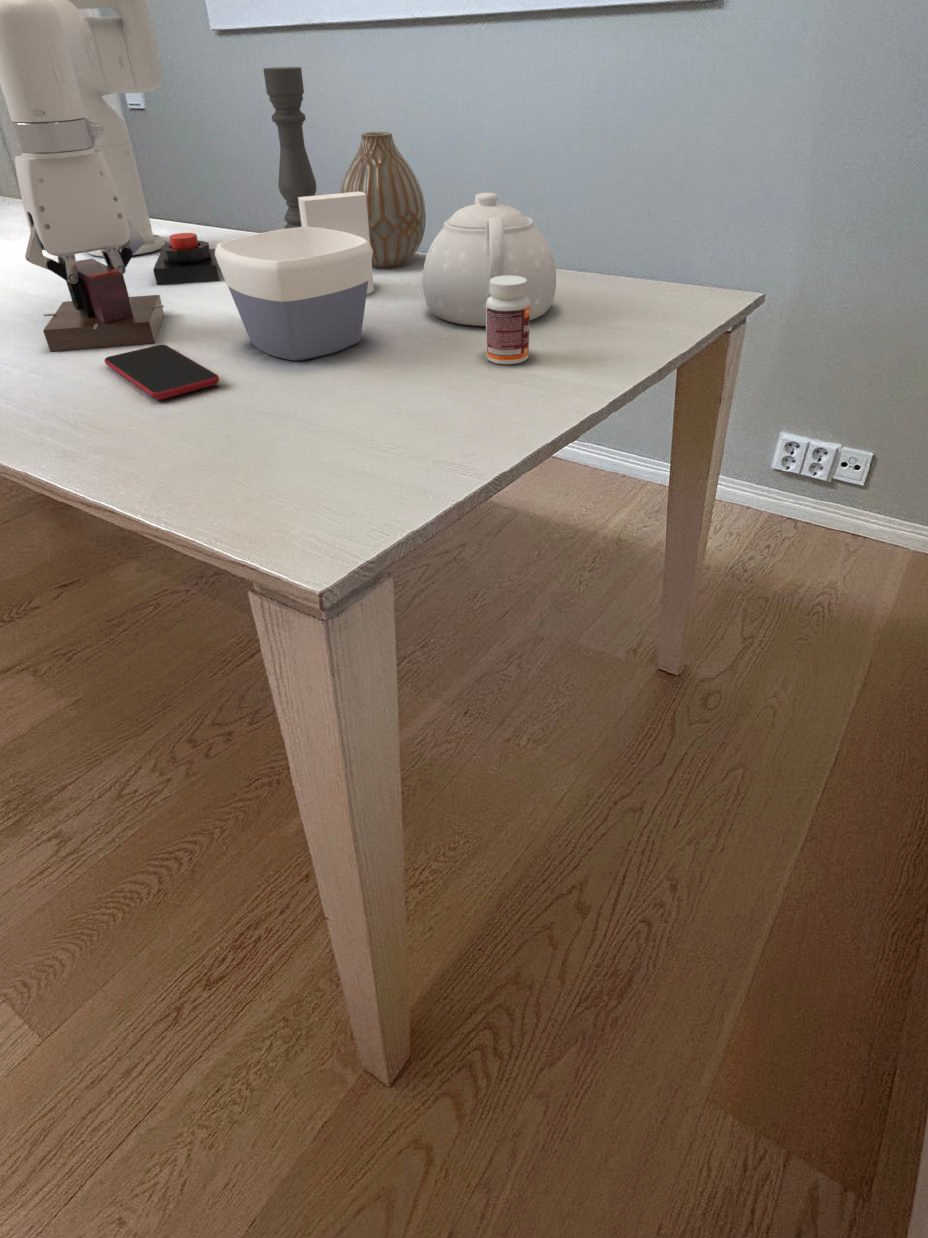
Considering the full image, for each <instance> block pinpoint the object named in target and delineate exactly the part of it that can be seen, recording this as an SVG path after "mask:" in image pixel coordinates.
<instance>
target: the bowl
mask: <svg viewBox="0 0 928 1238" xmlns="http://www.w3.org/2000/svg"><path fill="white" fill-rule="evenodd" d="M215 248H216V249H215V254H214V255H215V257H216V259H217V262H218V264H219V267H220V269H221V274H222V277H223V279H224V281H225V283H226V285H227V287H228V290H229V292H230V294H231V297H232V299H233V301H234V302H233V303H234V305H235V307H236V309H237V311H238V315H239V316H240V318H241V321H242V323H243V326H244V328H245V331H246V334H247V336H248V338H249V341H250V343H251V344H252V345H253V346H254V347H255V348H257V349H258V350H260V351H261V352H263V353H265V354H267V355H269V356H273V357H276V358H279V359H284V360H286V361H287V360H288V361H295V362H298V361H299V362H301V361H306V360H311V359H315V358H321V357H323V356H327V355H331V354H332V355H333V354H335V353H337V352H341V351H343V350H345V349H348V348H351V347H352V346H354V345H356V344H357V343H359V342H360V341H361V338H362V333H363V324H364V316H365V311H366V310H365V309H366V303H367V296H368V294H367V288H368V280H369V276H370V268H371V261H372V253H373V250H372V248H371V246H370V244H369V243H368V241H367V240H365V239H364V238H362V237H359V236H356V235H353V234H349V233H346V232H341V231H336V230H330V229H324V228H316V227H297V228H288V229H284V228H281V229H276V230H270V231H264V232H258V233H254V234H250V235H249V234H248V235H244V236H240V237H235V238H233V239H228V240H226V241H222V242H219V243H217V244H216V246H215Z"/></svg>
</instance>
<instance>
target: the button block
mask: <svg viewBox="0 0 928 1238" xmlns="http://www.w3.org/2000/svg"><path fill="white" fill-rule="evenodd" d="M198 244H199V246H197V247H194V248H188V249H172V248H171V244H170V242H168V243H165V245H162V247H161V249H160V253H159V254H158V257H157V260H156V262H155V264H154V266H153V268H152V270H153V274H154V279H155V283H156V285H158V286H160V285H172V284H173V285H175V284H188V283H190V284H191V283H202V282H204V283H205V282H216V281H220V279H221V274H222V272H221V269H220V267H219V264H218V262H217V259H216V257H215V255H214V254H215V249H216V247H215V248H210V242H208V241H206V240H199V239H198Z"/></svg>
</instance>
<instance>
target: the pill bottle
mask: <svg viewBox="0 0 928 1238" xmlns="http://www.w3.org/2000/svg"><path fill="white" fill-rule="evenodd" d="M489 291H490V295H491V297H489V298H488V299H487V302H486V326H485V336H486V339H485V340H486V344H485V345H486V347H485V352H486V355H485V356H486V359H487V360H488V361H489V362H490V363H494V364H497V365H498V364H499V365H517V364H521V363H523V362H525V361H526V360H528V358H529V353H530V351H529V349H530V321H531V320H530V301H529V299H528V298H527V297H526V296H525V295H526V294H527V279H526V278H524V277H521V276H511V275H506V276H497V277H493V278H491V279H490V288H489Z"/></svg>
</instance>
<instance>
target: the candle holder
mask: <svg viewBox="0 0 928 1238" xmlns="http://www.w3.org/2000/svg"><path fill="white" fill-rule="evenodd" d="M262 69H263V76H264V82H265V91H266V95H267V96H268V97H269V99H268V100H269V102H270V103H271V104H272V107H273V108H274V110H275V111H274V112H273V114H272V115H271V121H272V122H273V123H274V124H275V126H276V127H277V133H278V140H279V141H278V142H279V149H280V150H279V152H280V153H279V168H278V181H277V182H278V183H277V184H278V190H279V193H280V195H281V197H282V199H284V200H285V205H286V206H287V207H288V208H287V210H286V213H285V214H284V221H285V222H286V225H284V226H283V229H288V228H297V227H302V225H301V217H300V209H299V201H298V197H306V196H316V193H317V188H318V187H317V181H316V178H315V175H314V171H313V168H312V165H311V163H310V159H309V156H308V153H307V149H306V147H305V146H306V145H305V138H304V132H303V131H304V130H303V125H304V122H305V121H306V120H307V119H306V115H305V113H304V112H303V111H301V107H302V103H303V100H304V97H303V95H304V94H305V90H304V81H303V71H302V67H301V66H280V67H279V66H276V67H275V66H274V67H265V68H262Z"/></svg>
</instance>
